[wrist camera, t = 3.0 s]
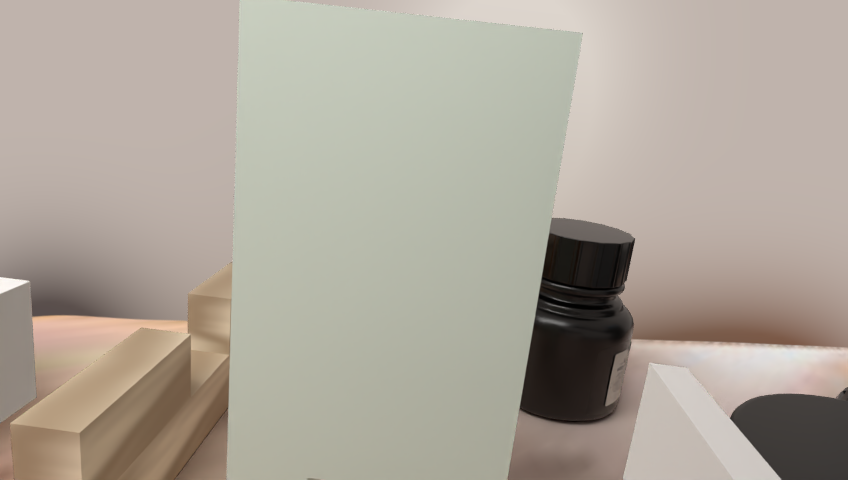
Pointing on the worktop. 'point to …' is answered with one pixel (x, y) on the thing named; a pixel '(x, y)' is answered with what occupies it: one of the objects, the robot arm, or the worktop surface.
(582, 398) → the ink bottle
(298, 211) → the pale green panel
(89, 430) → the slotted rail
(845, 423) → the jar
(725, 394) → the worktop surface
